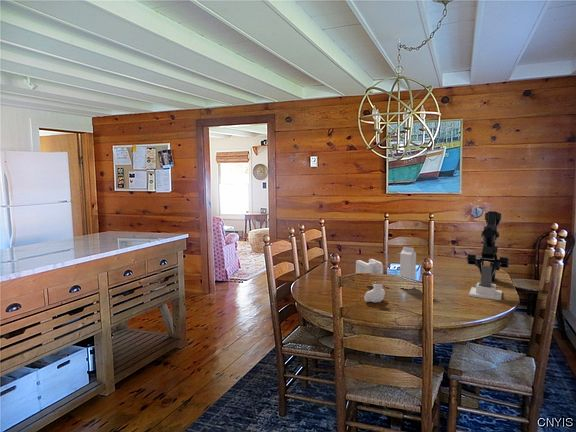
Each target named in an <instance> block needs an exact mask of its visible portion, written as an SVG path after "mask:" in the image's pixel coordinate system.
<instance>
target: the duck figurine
mask: <svg viewBox="0 0 576 432" xmlns="http://www.w3.org/2000/svg"><path fill="white" fill-rule="evenodd" d="M372 284H373V283H372ZM383 285H384V284H383ZM383 285H382V284H373V285H372V287H373V288H372V289H371V290H368V291H366V293H365V294H364V301H365V303H366V302H369V303H377V302H378V303H381V302H382V301H383V300H384V298H385V295H386V291H385V289H384V288H383V287H384V286H383Z"/></svg>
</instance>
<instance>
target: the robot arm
mask: <svg viewBox="0 0 576 432" xmlns="http://www.w3.org/2000/svg"><path fill="white" fill-rule="evenodd" d="M484 221H485V223H486V225H485V226H484V227H483V230H481V235H480V236H481V238H482V243H483V244H482V248H481V249H482V250H481V257H480V256H477V255H476V254H471V253H469V254H467V256H466V258H467V259H466V261H467V264H468V265H474V266H475V267H477V269H478V271H479V273H480V275H481V270H482V264H483V265H484V261H490V265H492V272H491V276H492V277H491V282H495V281H497V280H499V278H496V271H500V269H501V268H503V269H505V268H506V269H508V268H509V263H510V261H509V260H510V259H509V257H505V256H499V259H498V255H497V254H498V252H499V251H498V248H499V247H498V246H496V241H497V239H499V237H500V232H499V231H498V227H499V226H500V222H501V221H502V213H500V212H498V211H494V210H491V211H490V210H489V211H487V212H485V213H484Z"/></svg>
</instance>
